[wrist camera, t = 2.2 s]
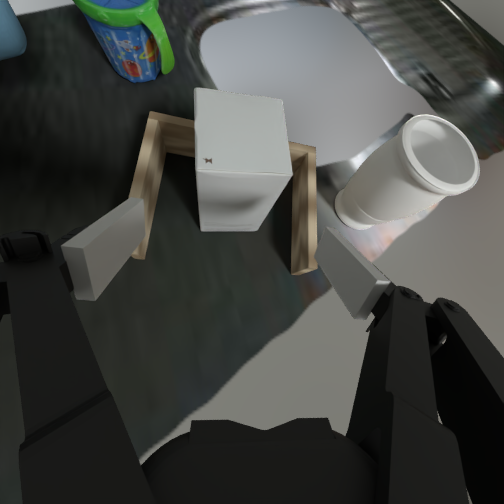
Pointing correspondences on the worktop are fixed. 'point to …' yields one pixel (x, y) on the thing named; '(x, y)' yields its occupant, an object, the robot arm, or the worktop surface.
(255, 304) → the worktop surface
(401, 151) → the jar
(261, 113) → the supplement box
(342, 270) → the robot arm
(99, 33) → the snack cup
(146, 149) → the wooden u-shaped frame
